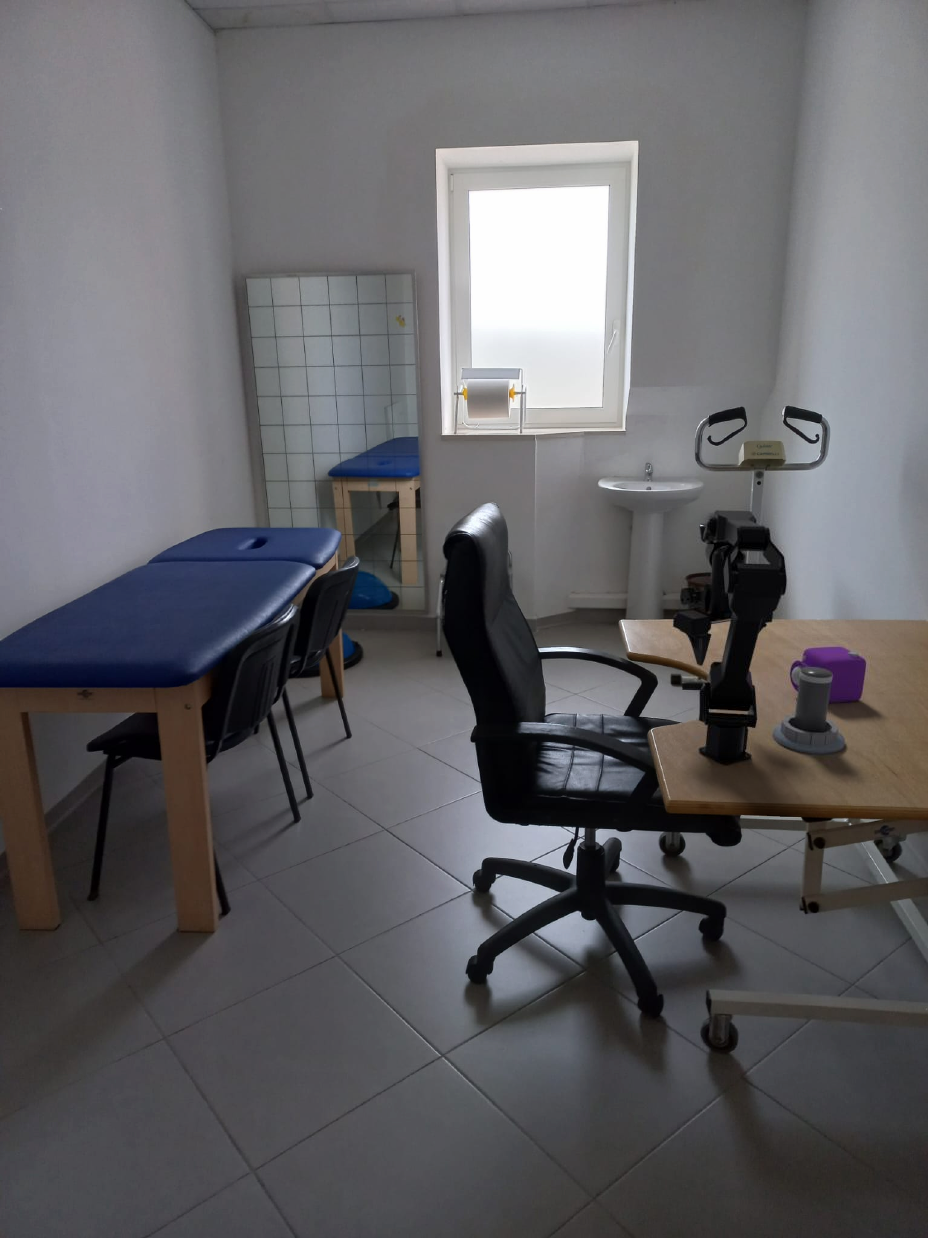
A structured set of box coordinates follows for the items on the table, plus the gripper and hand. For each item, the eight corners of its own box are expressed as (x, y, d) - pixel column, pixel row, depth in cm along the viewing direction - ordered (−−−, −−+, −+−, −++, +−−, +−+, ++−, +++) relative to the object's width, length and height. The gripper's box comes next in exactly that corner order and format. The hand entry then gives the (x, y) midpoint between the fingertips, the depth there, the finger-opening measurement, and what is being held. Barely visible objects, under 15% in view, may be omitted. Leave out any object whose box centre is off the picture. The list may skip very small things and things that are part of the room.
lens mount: (811, 759, 146) (813, 743, 145) (758, 733, 156) (760, 718, 155) (859, 746, 151) (861, 730, 150) (805, 722, 161) (806, 707, 160)
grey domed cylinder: (825, 742, 150) (833, 678, 147) (792, 738, 152) (800, 674, 148) (824, 731, 155) (832, 668, 151) (792, 726, 157) (799, 665, 153)
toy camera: (777, 692, 177) (782, 646, 174) (829, 683, 181) (835, 639, 179) (815, 710, 167) (821, 662, 164) (868, 701, 172) (875, 654, 169)
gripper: (736, 564, 163) (729, 641, 168) (657, 575, 156) (651, 655, 161) (779, 578, 154) (770, 659, 159) (696, 590, 146) (689, 674, 151)
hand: (719, 661), depth 158 cm, fingers open, 9 cm apart
